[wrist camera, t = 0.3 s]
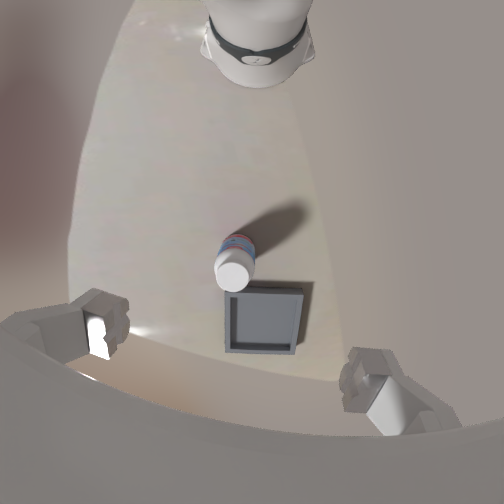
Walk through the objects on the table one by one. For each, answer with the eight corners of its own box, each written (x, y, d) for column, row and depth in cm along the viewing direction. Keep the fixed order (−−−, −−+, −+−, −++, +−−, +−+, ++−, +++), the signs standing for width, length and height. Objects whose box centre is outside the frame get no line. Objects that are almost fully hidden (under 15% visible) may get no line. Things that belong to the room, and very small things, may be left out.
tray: (226, 285, 52) (224, 291, 49) (301, 288, 52) (303, 294, 49) (226, 344, 57) (225, 352, 54) (293, 346, 57) (294, 354, 54)
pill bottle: (254, 232, 48) (253, 255, 38) (256, 265, 50) (256, 296, 40) (218, 234, 48) (208, 258, 38) (222, 267, 51) (213, 297, 40)
